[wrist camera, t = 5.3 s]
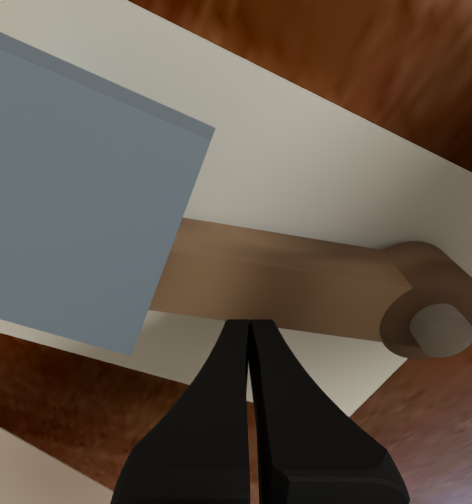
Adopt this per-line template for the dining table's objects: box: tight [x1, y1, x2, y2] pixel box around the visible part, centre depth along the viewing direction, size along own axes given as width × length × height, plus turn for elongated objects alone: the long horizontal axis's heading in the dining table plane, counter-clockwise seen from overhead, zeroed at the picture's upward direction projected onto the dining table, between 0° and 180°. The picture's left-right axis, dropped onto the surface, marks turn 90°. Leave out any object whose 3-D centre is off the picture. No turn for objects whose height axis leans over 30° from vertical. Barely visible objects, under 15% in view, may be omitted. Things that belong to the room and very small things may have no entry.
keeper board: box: [0, 0, 472, 417], centre depth 11 cm, size 20×14×6 cm
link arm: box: [148, 218, 472, 359], centre depth 11 cm, size 13×4×3 cm, turn 80°
